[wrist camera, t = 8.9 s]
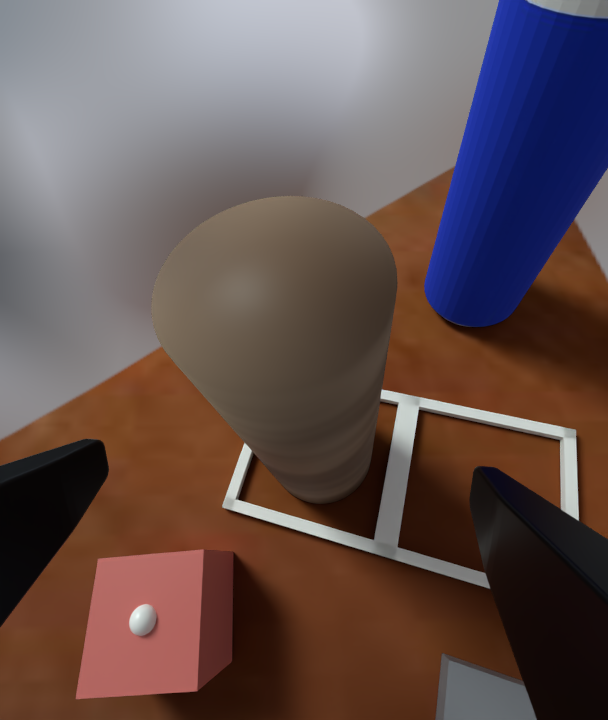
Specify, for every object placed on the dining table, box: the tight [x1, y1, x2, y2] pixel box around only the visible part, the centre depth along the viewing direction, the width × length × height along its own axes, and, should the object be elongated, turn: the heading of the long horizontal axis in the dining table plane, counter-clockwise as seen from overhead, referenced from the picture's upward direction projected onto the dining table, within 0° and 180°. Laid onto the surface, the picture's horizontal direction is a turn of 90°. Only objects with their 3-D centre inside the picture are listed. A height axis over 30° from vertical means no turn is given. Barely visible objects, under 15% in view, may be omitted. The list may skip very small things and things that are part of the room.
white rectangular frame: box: [222, 390, 579, 589], centre depth 18 cm, size 8×15×1 cm, turn 74°
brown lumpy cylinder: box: [152, 196, 397, 504], centre depth 13 cm, size 5×5×13 cm
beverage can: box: [424, 0, 608, 327], centre depth 16 cm, size 5×5×15 cm
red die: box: [76, 550, 233, 699], centre depth 15 cm, size 4×4×4 cm
